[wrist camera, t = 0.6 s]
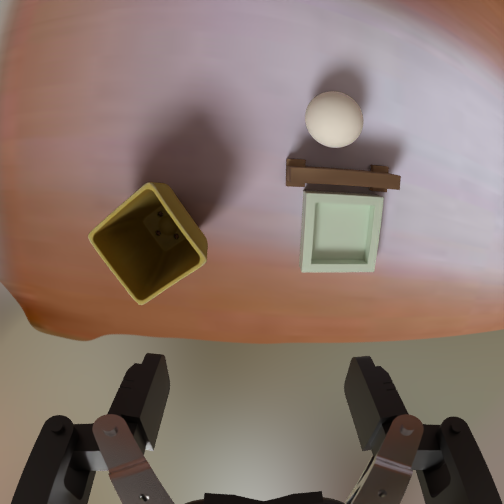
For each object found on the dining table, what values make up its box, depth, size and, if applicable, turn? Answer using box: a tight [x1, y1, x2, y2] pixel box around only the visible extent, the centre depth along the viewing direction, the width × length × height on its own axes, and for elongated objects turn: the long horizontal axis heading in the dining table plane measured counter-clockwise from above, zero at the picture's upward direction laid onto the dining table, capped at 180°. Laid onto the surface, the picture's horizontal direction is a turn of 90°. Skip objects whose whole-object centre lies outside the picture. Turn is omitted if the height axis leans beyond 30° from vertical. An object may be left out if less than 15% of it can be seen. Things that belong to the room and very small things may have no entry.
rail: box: [286, 159, 401, 192], centre depth 30 cm, size 3×12×4 cm, turn 89°
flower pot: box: [88, 182, 208, 305], centre depth 30 cm, size 9×9×9 cm
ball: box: [305, 91, 363, 148], centre depth 27 cm, size 6×6×6 cm
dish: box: [299, 190, 383, 272], centre depth 33 cm, size 9×9×2 cm
